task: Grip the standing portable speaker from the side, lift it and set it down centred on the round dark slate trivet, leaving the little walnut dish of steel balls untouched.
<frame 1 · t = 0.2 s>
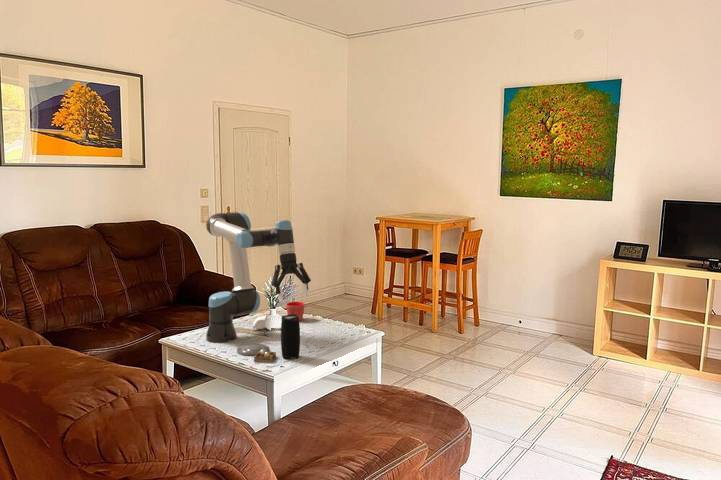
hand: (293, 299, 253), 27 cm above the table, tool tilted 15°, fingers open, 13 cm apart
penguin: (265, 329, 302), on the table
brass ball: (267, 355, 250), point 2 cm above the table, touching walnut dish
slate trivet: (252, 350, 264), on the table
portable speaker: (290, 357, 255), on the table
walnut dish: (265, 359, 252), on the table
flower pot: (295, 320, 321), on the table
steel ball: (263, 352, 254), point 2 cm above the table, touching walnut dish
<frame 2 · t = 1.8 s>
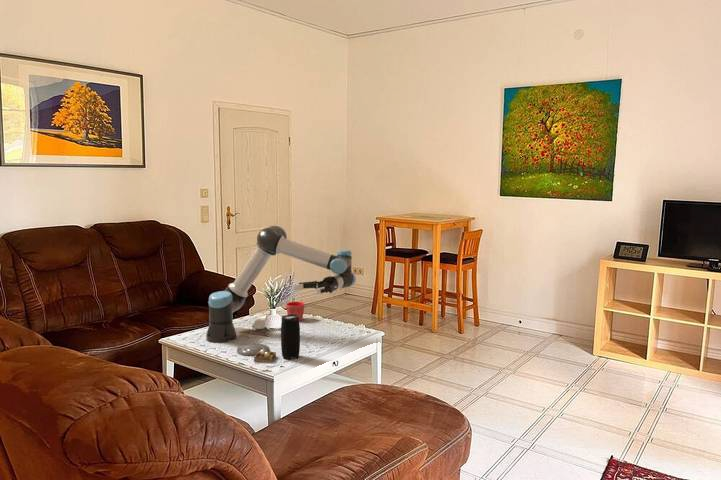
hand: (304, 290, 260), 30 cm above the table, tool horizontal, fingers open, 13 cm apart
nothing on the table moved.
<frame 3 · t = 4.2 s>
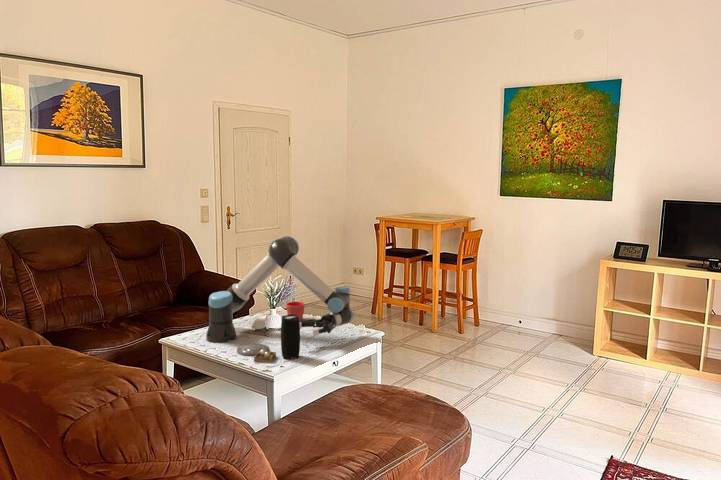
hand: (302, 330, 260), 11 cm above the table, tool horizontal, fingers open, 13 cm apart
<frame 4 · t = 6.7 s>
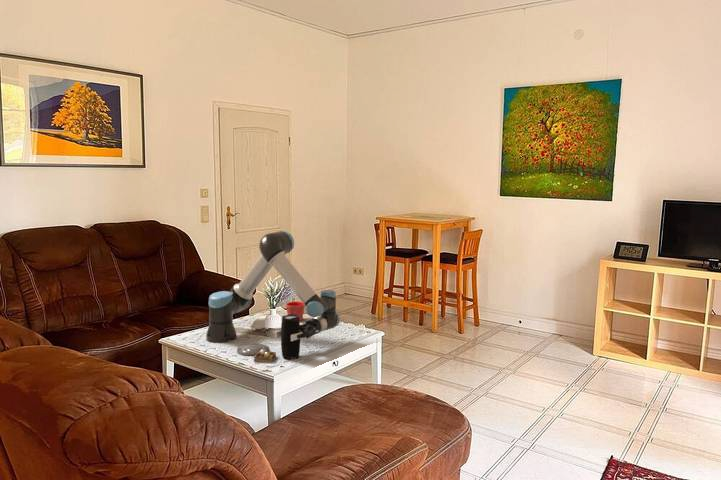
hand: (283, 336, 250), 11 cm above the table, tool horizontal, fingers closed on portable speaker, 9 cm apart
portable speaker: (290, 357, 255), on the table, touching gripper
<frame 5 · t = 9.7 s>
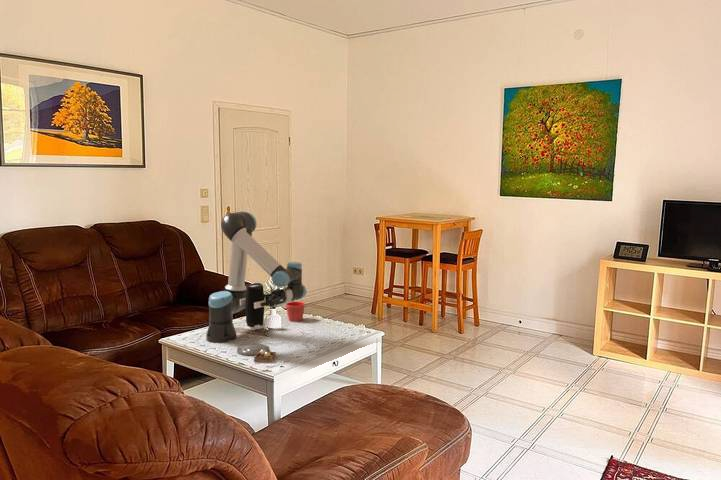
hand: (247, 304, 257), 24 cm above the table, tool horizontal, fingers closed on portable speaker, 9 cm apart
portable speaker: (254, 325, 262), point 13 cm above the table, touching gripper
when the fingers open (13 cm above the table, at t = 12.5 s): portable speaker stays where it is, resting on slate trivet.
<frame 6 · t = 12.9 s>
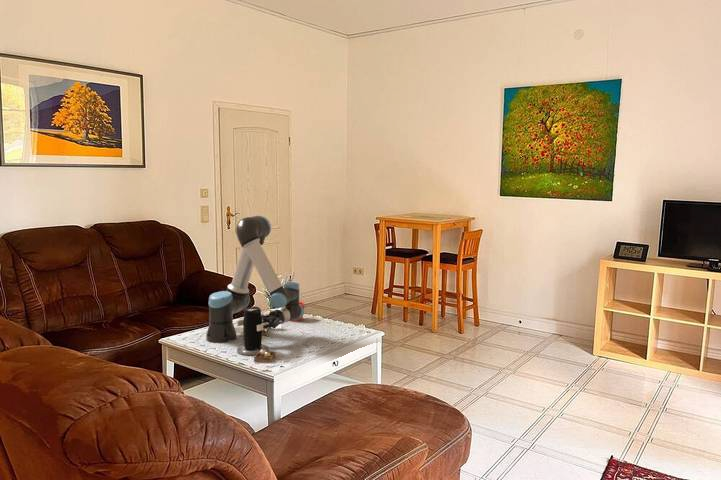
hand: (247, 325, 260), 13 cm above the table, tool horizontal, fingers open, 13 cm apart
portable speaker: (252, 348, 264), point 1 cm above the table, touching slate trivet
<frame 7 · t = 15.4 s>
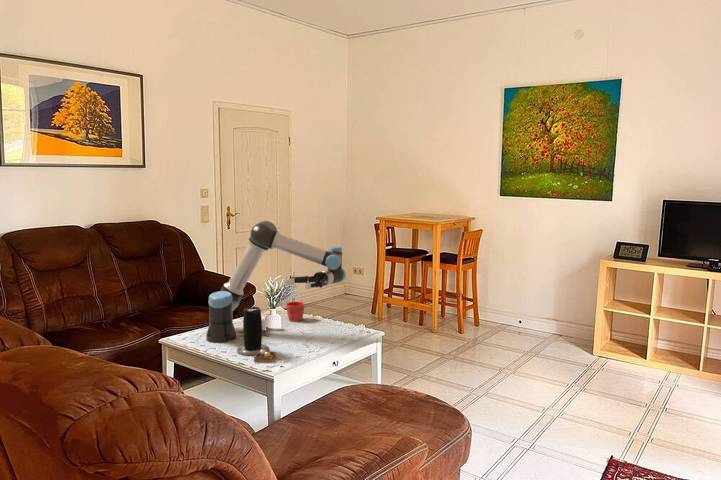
hand: (295, 284, 268), 31 cm above the table, tool horizontal, fingers open, 13 cm apart
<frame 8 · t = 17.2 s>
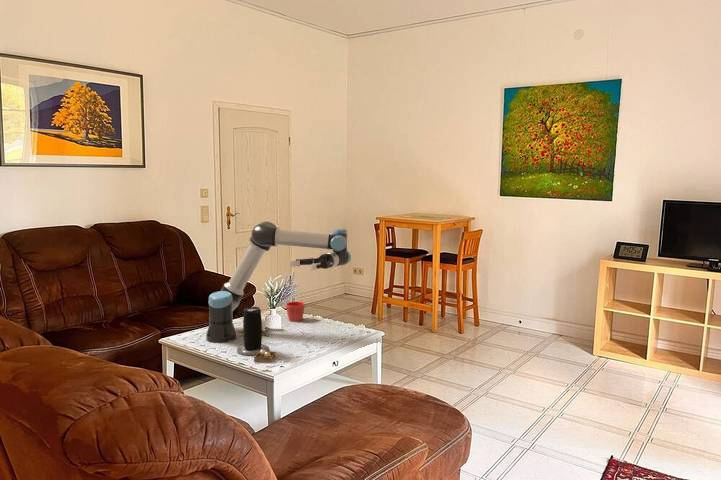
hand: (300, 265, 267), 40 cm above the table, tool horizontal, fingers open, 13 cm apart
at the end: portable speaker 0.1 cm from the slate trivet (horizontally); portable speaker tilted 0°; portable speaker point 0.9 cm above the table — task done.
